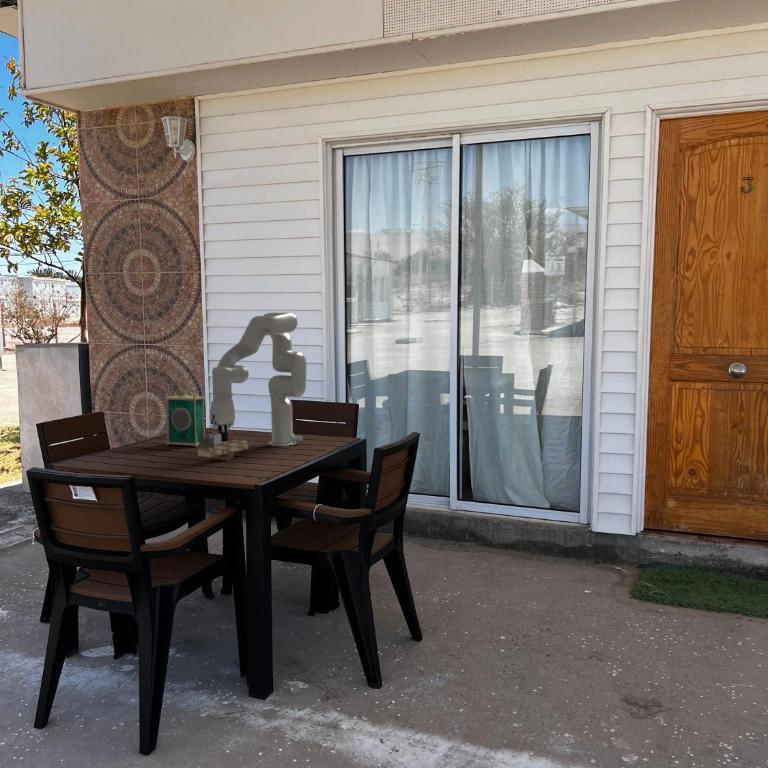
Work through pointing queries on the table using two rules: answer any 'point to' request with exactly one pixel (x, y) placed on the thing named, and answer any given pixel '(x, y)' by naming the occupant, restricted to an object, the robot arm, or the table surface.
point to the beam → (221, 448)
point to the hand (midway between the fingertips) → (223, 441)
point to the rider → (215, 438)
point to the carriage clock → (185, 418)
